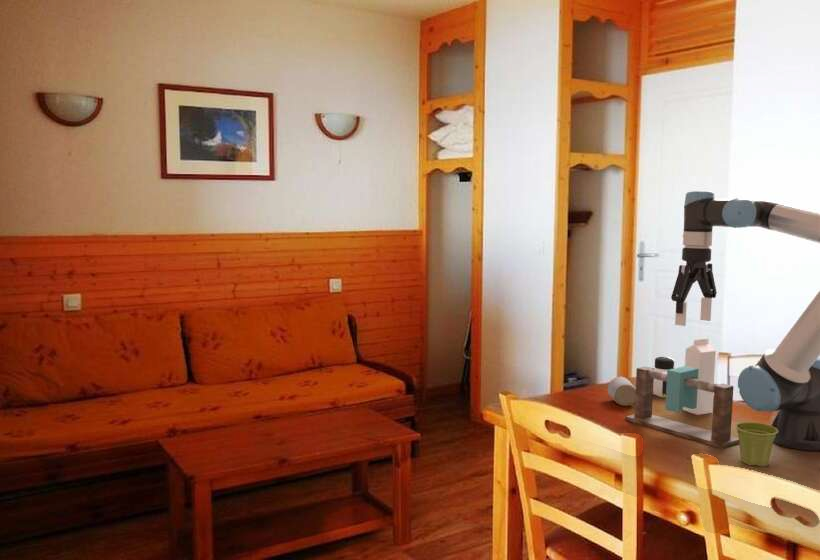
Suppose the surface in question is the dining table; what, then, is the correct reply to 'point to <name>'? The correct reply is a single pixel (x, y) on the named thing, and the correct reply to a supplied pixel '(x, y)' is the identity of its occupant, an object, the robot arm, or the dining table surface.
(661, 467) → the dining table surface
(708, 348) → the milk
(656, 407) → the dining table surface
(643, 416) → the hanger stand
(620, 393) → the ceramic mug
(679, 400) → the teal block
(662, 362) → the medicine bottle
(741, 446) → the plant pot
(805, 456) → the dining table surface
